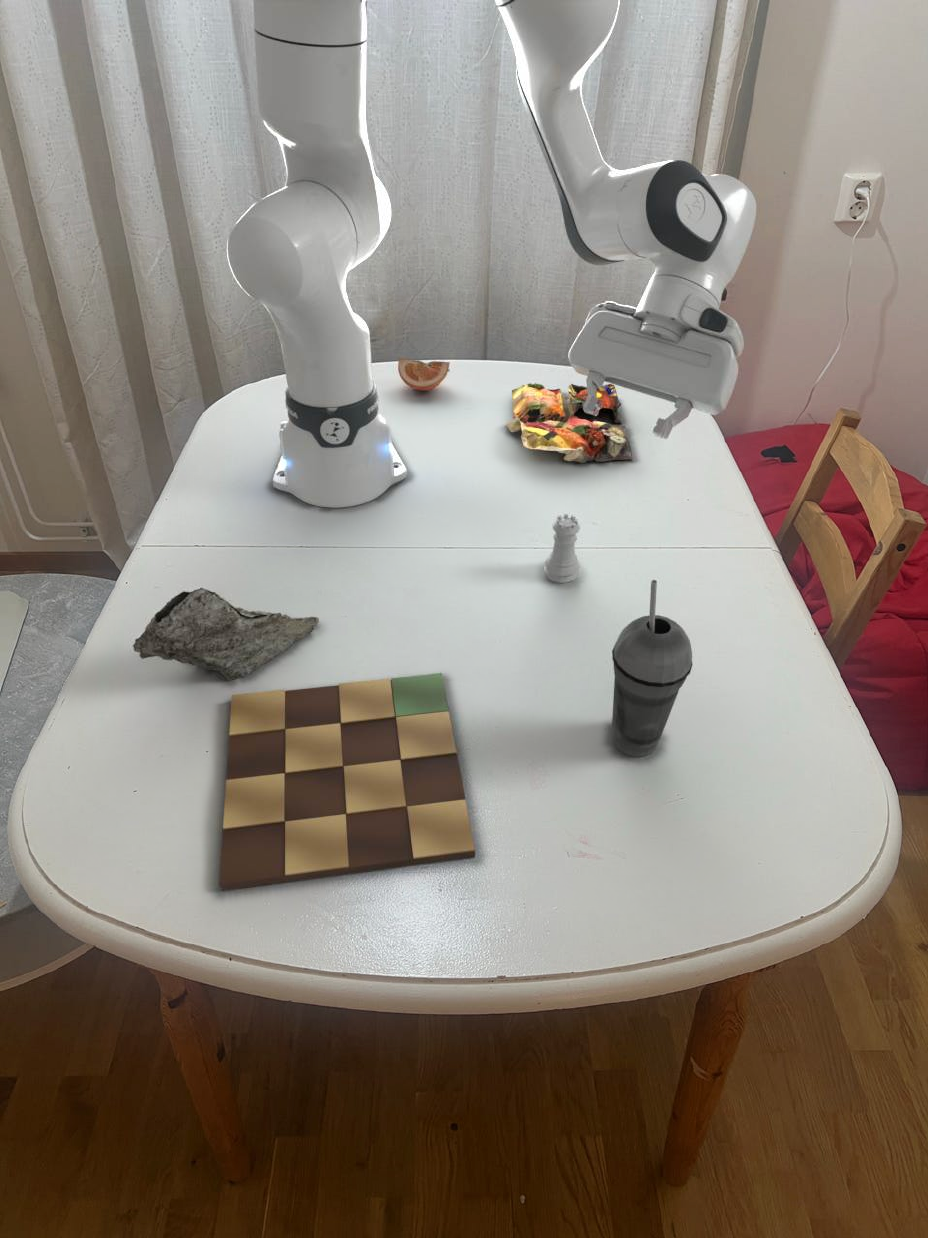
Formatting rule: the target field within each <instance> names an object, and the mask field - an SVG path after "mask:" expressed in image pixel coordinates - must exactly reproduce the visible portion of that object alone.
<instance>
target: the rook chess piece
mask: <svg viewBox="0 0 928 1238" xmlns="http://www.w3.org/2000/svg"><path fill="white" fill-rule="evenodd" d="M556 517H557V518H556V519H555V521H554V522H553V523H552V530H553V531H554V532H555V533H554V534H553V535H552V538H553V540H554V543H553V546H552V551H551V552H550V553H549V554H548V556H547V557H546V559H545V561H544V567H543V574H544V575H545V576H546V577H547V578H548V579H549V580H550V581H551V582H554V583H557V584H568V583H572V582H573V581H575V580H576V579H577V578H579V576H580V573H581V571H580V568H581V566H580V560H579V559H578V556H577V554H576V550H575V548H576V545H575V544H576V541H577V540H578V536H577V534H579V531H580V530H581V525H580V524H579V523H578V522H579V521H578V518H576V516H575V515H571V516H570V517H569V514H568V513H564V514H563V516H562V515H557V516H556Z"/></svg>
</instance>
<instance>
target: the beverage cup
mask: <svg viewBox="0 0 928 1238" xmlns="http://www.w3.org/2000/svg"><path fill="white" fill-rule="evenodd" d="M657 589H658V581H657V580H656V579H651V581H650V598H649V600H650V601H649V614H648V615H643V616H641V617H639V618H636V619H634V620H632V621H631V622H630V623H628V624H627V625H626V626H625V627H624V628H623V629H622V630H621V631H620V633H619V635H618V637H617V639H616V641H615V643H614V645H613V648H612V651H611V655H612V656H611V659H612V662H613V663H612V664H613V674H614V683H613V700H612V715H611V716H612V717H611V721H612V722H611V731H612V734H611V740H612V743H613V745H614V747H615V748H616V749H617V750H618V751H619V752H620V753H622V754H624V755H627V756H629V757H632V758H642V757H643V758H644V757H647V756H649V755H651V754H652V753H653V752H655V750H656V749H657V746H658V744H659V741H660V740H661V738H662V735H663V732H664V730H665V728H666V725H667V722H668V719H669V718H670V714H671V712H672V709H673V707H674V705H675V702H676V699H677V696H678V694H679V691H680V689H681V688H682V687H683V685H684V683H685V681H686V680H687V677H688V676H689V675H690V674H691V671H692V668H693V651H692V645H691V640H690V638H689V636H688V634H687V633H686V631H685V629H684V628H683V627H682V626H680V625H679V624H678V623H677V622H676V621H675V620H673V619H671V618H668V617H667V616H662V615H659V614H658V615H657V614H656V605H657Z"/></svg>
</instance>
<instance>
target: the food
mask: <svg viewBox="0 0 928 1238" xmlns="http://www.w3.org/2000/svg"><path fill="white" fill-rule="evenodd" d="M615 386H616V385H615V384H611V383H607V384H603V385H602V388H601V389H599V388H597V398H598V399H599V400H600V402H602V407H601V409H600V410H602V409H606V410H612V415H613V420H614V423H615V424H616V425H615V424H610V423H607V422H603V421H599V420H596V419H595V418H593V421H592V422H591V421H590V420H587V419H585V418H583V419H582V418H579V417H578V416H576V415H575V413H576V412H577V411H578V410H579V409H583V406H584V404H585V402H586V400H587V397H588V394H587V386H584V385H577V384H573V383H569V384H568V385H567V387H568V389H567V392H568V396H565V393H563V392H562V390H561V388H556V389H551V388H550V389H547V388H546V387H545V386H544V385H543V384H541V383H536V382H535V383H526V384H525V385H524V384H522V385H520V386H519V387H517V388H514V389H512V390H511V401H512V412H513V413H512V418H513V419H512V420H510V421H509V422H507V423H506V424H505V425H504V428H507V429H508V430H509V432H511V433H515V432H520V431H521V441H522V445H523V447H525V448H527V449H529V451H534V450H537V451H538V450H539V451H550V452H551V451H552V452H553V451H554V452H558V453H559V454H565V456H564V457H563V460H564V461H566V462H567V461H568V462H575V463H582V464H585V463H586V462H591V461H595V462H597V463H599V462H600V463H601V462H607V461H615V460H622V461H623V460H632V459H633V460H634V456H633V451H632V448H631V444H630V439H629V436H628V432H627V428H626V426H624V425H617V424H623V421H622V417H621V413H620V410H619V409H620V407H621V406H622V403H621V402H620V400H619V397H618V393H617V389H616V387H615Z"/></svg>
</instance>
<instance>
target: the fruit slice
mask: <svg viewBox="0 0 928 1238" xmlns="http://www.w3.org/2000/svg"><path fill="white" fill-rule="evenodd" d="M397 363H398V364H397V369H398V370H397V371H398V374H399V377H400V378H401V380H402V381H403V383H404V384H405V385H407V386H408V387H410V388H412V389H414V390H417V391H430V390H433V389H435V388H437V387H438V386H439V385H440V384H441V383H442V382H443V381H444V380H445V379H446V378H447V375H448V373H449V372H450V364H451V363H450V361H436V360H435V361H429V362H424V361H421V360H419V359H418V360H417V359H416V360H415V359H407V358H406V359H405V358H399V359H398V362H397Z"/></svg>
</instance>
